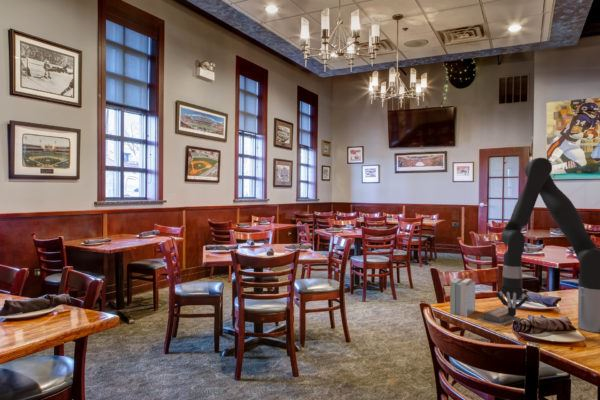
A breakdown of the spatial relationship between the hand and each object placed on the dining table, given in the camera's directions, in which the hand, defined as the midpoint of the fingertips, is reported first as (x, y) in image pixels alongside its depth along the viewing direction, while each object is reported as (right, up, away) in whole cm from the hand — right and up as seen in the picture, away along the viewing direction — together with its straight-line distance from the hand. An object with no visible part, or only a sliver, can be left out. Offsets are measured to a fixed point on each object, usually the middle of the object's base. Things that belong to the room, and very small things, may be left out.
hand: (511, 315), depth 179 cm
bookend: (-16, -2, +13) cm, 21 cm away
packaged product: (-4, -4, +3) cm, 6 cm away
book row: (-17, -2, +14) cm, 22 cm away
